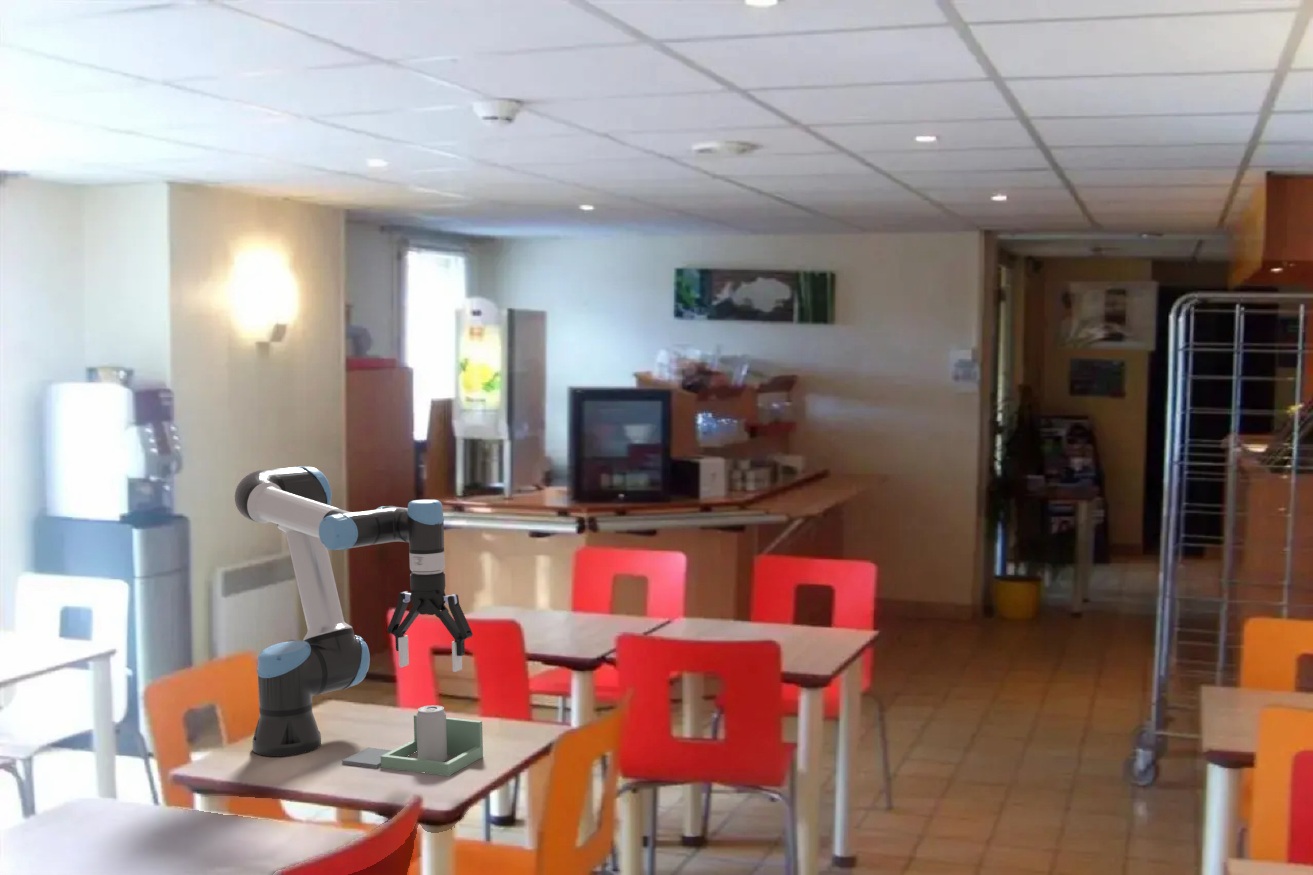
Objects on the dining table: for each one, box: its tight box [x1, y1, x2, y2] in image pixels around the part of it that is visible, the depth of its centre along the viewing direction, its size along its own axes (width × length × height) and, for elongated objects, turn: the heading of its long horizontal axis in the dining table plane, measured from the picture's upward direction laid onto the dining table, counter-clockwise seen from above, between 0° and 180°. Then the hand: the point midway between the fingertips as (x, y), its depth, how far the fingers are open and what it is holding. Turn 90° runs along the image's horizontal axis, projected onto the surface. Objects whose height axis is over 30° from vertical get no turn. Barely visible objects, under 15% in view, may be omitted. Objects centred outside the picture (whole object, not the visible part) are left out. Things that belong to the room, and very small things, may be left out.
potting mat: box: [341, 747, 393, 769], centre depth 298 cm, size 9×10×1 cm
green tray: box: [380, 713, 484, 777], centre depth 295 cm, size 17×14×8 cm
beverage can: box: [415, 704, 448, 762], centre depth 295 cm, size 6×6×12 cm
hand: (430, 668), depth 294 cm, fingers open, 13 cm apart
